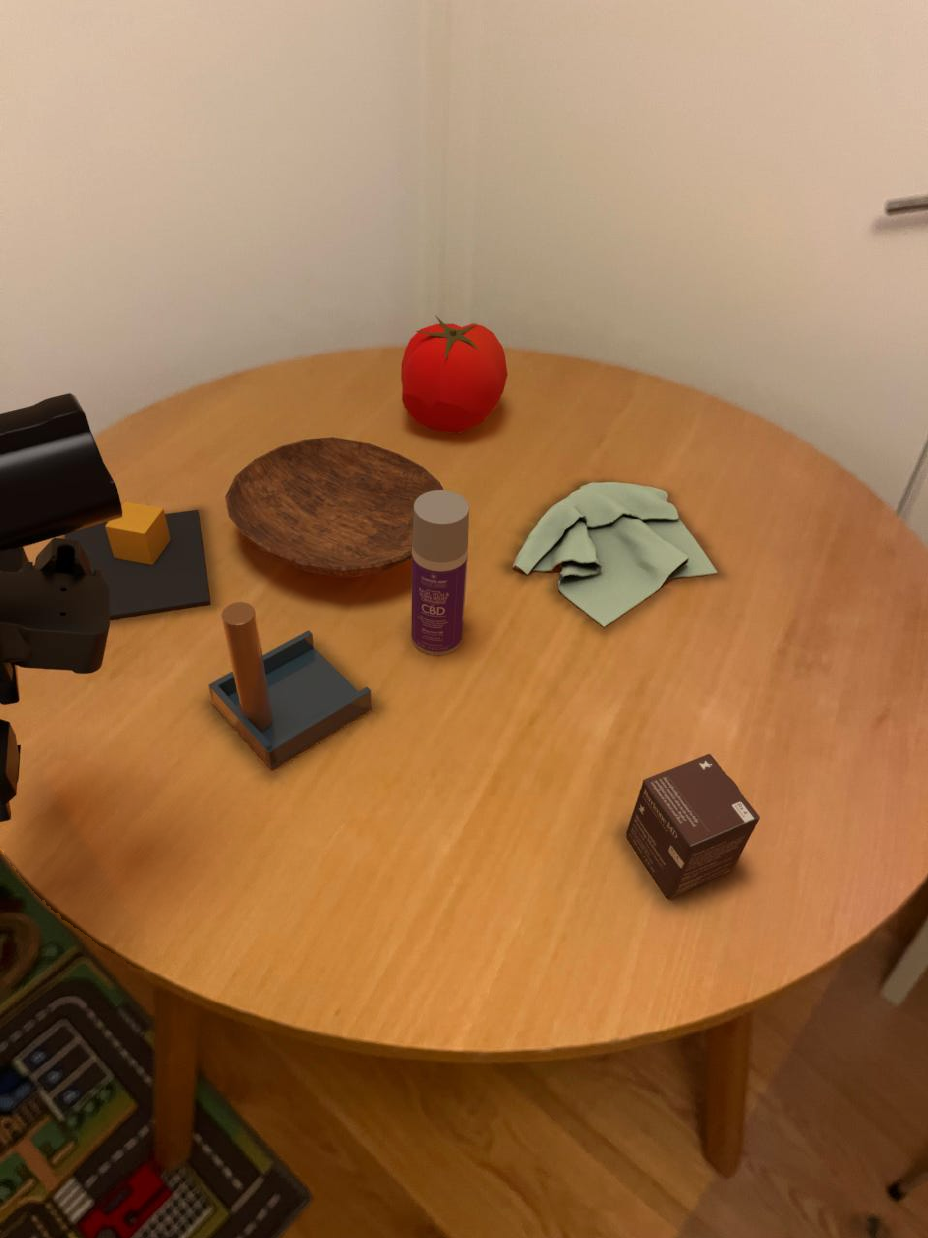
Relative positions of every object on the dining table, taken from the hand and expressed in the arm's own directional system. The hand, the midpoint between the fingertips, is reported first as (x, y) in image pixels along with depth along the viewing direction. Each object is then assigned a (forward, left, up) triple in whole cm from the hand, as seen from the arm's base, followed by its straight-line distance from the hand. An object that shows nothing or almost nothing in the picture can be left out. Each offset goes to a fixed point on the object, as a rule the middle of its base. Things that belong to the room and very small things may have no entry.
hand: (6, 757), depth 57 cm
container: (+32, +16, -13) cm, 38 cm away
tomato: (+43, +51, -13) cm, 68 cm away
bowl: (+26, +32, -13) cm, 43 cm away
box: (+44, -10, -13) cm, 47 cm away
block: (+6, +32, -10) cm, 34 cm away
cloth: (+52, +24, -13) cm, 59 cm away
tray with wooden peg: (+18, +11, -13) cm, 25 cm away
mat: (+6, +32, -13) cm, 35 cm away
